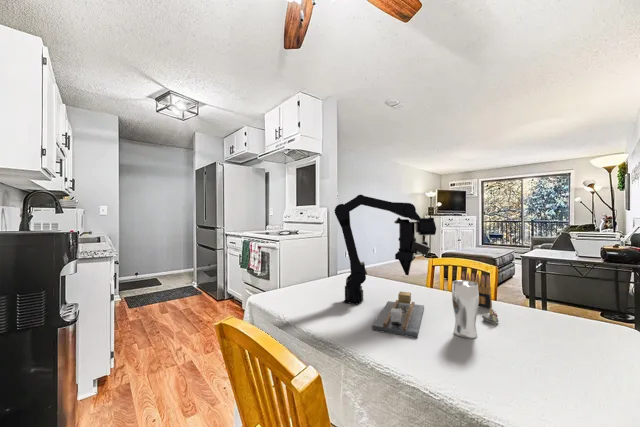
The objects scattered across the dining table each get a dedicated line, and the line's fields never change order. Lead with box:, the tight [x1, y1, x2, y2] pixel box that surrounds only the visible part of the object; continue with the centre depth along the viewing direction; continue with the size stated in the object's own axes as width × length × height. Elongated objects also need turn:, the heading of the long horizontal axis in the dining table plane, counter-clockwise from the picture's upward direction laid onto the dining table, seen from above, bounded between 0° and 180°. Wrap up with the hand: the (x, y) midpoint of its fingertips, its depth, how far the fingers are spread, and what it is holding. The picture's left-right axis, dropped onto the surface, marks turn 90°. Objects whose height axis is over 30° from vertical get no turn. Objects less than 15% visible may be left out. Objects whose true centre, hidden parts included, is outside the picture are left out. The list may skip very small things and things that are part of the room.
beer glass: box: [451, 279, 479, 340], centre depth 82 cm, size 7×7×15 cm
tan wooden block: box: [397, 291, 412, 304], centre depth 104 cm, size 4×4×3 cm
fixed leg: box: [391, 308, 402, 324], centre depth 87 cm, size 3×3×4 cm
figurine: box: [481, 306, 499, 325], centre depth 91 cm, size 5×4×6 cm
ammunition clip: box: [460, 271, 493, 310], centre depth 108 cm, size 11×2×12 cm, turn 44°
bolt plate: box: [371, 299, 425, 339], centre depth 94 cm, size 13×25×2 cm, turn 156°
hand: (407, 274), depth 111 cm, fingers closed
